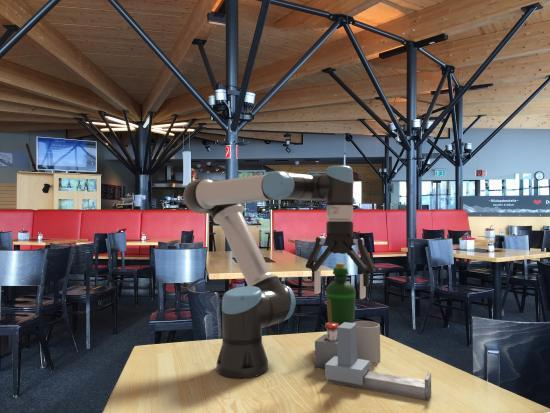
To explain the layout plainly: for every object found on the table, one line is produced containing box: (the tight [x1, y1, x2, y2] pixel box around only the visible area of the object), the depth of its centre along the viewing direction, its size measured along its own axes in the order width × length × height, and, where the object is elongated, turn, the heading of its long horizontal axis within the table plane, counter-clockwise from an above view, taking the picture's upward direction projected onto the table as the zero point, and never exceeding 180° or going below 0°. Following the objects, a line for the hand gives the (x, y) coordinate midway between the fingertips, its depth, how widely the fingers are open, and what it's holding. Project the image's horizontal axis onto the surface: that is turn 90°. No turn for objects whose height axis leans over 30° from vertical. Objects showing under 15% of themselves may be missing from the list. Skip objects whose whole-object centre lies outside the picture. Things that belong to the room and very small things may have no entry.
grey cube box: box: [314, 333, 338, 371], centre depth 129 cm, size 8×8×8 cm
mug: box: [354, 320, 381, 365], centre depth 136 cm, size 12×8×11 cm
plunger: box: [324, 322, 339, 342], centre depth 129 cm, size 4×4×9 cm
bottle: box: [325, 262, 357, 326], centre depth 151 cm, size 11×11×28 cm
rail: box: [326, 370, 432, 401], centre depth 112 cm, size 26×5×5 cm, turn 63°
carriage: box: [324, 322, 371, 385], centre depth 116 cm, size 10×8×14 cm
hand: (339, 295), depth 121 cm, fingers open, 13 cm apart
